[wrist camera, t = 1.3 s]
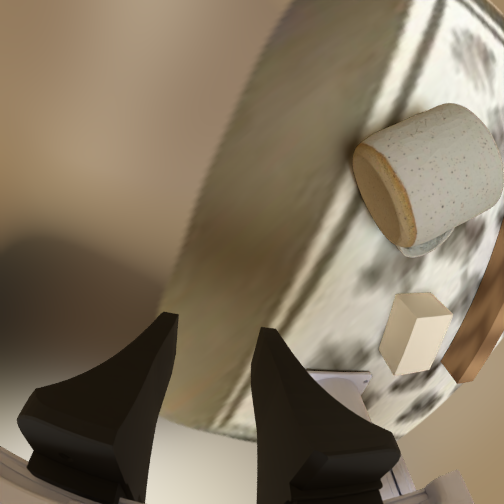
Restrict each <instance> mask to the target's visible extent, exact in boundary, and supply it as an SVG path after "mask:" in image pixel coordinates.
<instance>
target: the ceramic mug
mask: <svg viewBox="0 0 504 504" xmlns="http://www.w3.org/2000/svg"><path fill="white" fill-rule="evenodd" d="M353 171H354V175H355V178H356V182H357V185H358V188H359V190H360V193H361V195H362V198H363V200H364V202H365V204H366V206H367V208H368V210H369V212H370V214H371V216H372V217H373V219H374V221H375V223H376V224H377V226H378V227H379V229H380V230H381V231H382V233H383V234H384V235H385V237H386V238H387V239H388V240H389V241H391V242H392V243H393V244H395V245H396V246H397V247H398V249H399V250H400V251H401V252H402V254H403V255H405V256H407V257H413V258H415V257H419V256H422V255H425V254H427V253H429V252H431V251H433V250H435V249H436V248H437V247H438V246H440V245H441V244H442V243H443V242H444V241H445V240H446V239H447V238H448V237H449V236H450V234H451V233H452V231H453V230H454V228H455V227H456V226H458V225H460V224H462V223H464V222H466V221H468V220H470V219H472V218H474V217H476V216H478V215H480V214H481V213H483V212H485V211H487V210H488V209H490V208H492V207H493V206H494V205H495V204H496V203H497V201H498V200H499V199H500V196H501V193H502V190H503V185H504V172H503V163H502V159H501V156H500V152H499V150H498V147H497V145H496V143H495V141H494V139H493V137H492V135H491V133H490V132H489V130H488V129H487V127H486V126H485V125H484V123H483V122H482V121H481V120H480V119H479V118H478V117H477V116H476V115H475V114H474V113H472V112H471V111H470V110H468V109H467V108H465V107H463V106H461V105H458V104H452V103H446V104H442V105H439V106H437V107H434V108H432V109H430V110H428V111H425V112H422V113H420V114H418V115H415V116H413V117H410V118H408V119H406V120H404V121H402V122H400V123H397V124H395V125H392V126H390V127H387V128H385V129H383V130H381V131H378V132H376V133H374V134H372V135H371V136H369V137H368V138H366V139H365V140H364V141H362V142H361V143H360V144H359V145H358V146H357V147H356V149H355V151H354V155H353Z"/></svg>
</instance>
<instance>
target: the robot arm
mask: <svg viewBox="0 0 504 504" xmlns="http://www.w3.org/2000/svg"><path fill="white" fill-rule="evenodd" d="M178 316H179V314H173V313H168V312H163V313H161V314H160V315H159V316H158V317H157V319H156V320H155V321H154V322H153V323H152V324H151V325H150V326H149V327H148V328H147V329H146V330H145V331H144V332H143V333H141V334H140V335H139V336H138V337H137V338H136V339H135V340H134V341H133V342H131V343H130V344H129V345H127V346H126V347H125V348H124V349H123V350H121V351H120V352H119V353H117V354H116V355H114V356H113V357H111V358H110V359H108V360H107V361H105V362H104V363H102V364H100V365H98V366H97V367H95V368H93V369H91V370H89V371H87V372H85V373H83V374H80V375H78V376H76V377H73V378H71V379H68V380H65V381H62V382H59V383H56V384H52V385H48V386H44V387H41V388H36V389H35V391H34V392H33V393H32V394H31V396H30V397H29V399H28V401H27V402H26V404H25V405H24V407H23V409H22V411H21V412H20V414H19V416H18V418H17V424H18V426H19V428H20V430H21V432H22V434H23V435H24V437H25V438H26V440H27V441H28V443H29V444H30V446H31V447H32V449H33V450H34V451H33V453H32V456H31V458H30V460H29V462H28V461H26V460H24V459H22V458H20V457H18V456H17V455H15V454H13V453H11V452H10V451H8V450H6V449H5V448H3V447H1V446H0V504H145V497H146V487H147V479H148V470H149V464H150V457H151V451H152V445H153V439H154V433H155V427H156V423H157V419H158V415H159V412H160V409H161V406H162V402H163V399H164V396H165V393H166V390H167V387H168V384H169V381H170V378H171V374H172V370H173V365H174V360H175V355H176V343H177V329H178ZM371 378H372V374H371V373H370V372H325V371H306V370H305V369H304V367H303V366H302V365H301V364H300V362H299V361H298V360H297V358H296V357H295V356H294V354H293V353H292V352H291V350H290V349H289V347H288V346H287V344H286V343H285V342H284V340H283V339H282V337H281V336H280V334H279V333H278V331H277V330H276V329H273V328H265V327H261V329H260V333H259V336H258V340H257V344H256V348H255V351H254V355H253V359H252V362H251V390H252V398H253V406H254V413H255V421H256V428H257V455H258V460H257V463H258V465H257V466H258V467H257V469H258V470H257V471H258V472H257V476H258V477H257V504H475V503H474V501H473V499H472V497H471V495H470V493H469V490H468V488H467V486H466V484H465V482H464V480H463V478H462V476H461V474H460V472H459V470H455V471H452V472H450V473H447V474H445V475H442V476H440V477H438V478H436V479H434V480H433V481H432V482H430V483H429V484H428V485H427V486H426V487H425V488H423V489H420V490H417V491H416V488H415V486H414V483H413V481H412V478H411V476H410V474H409V471H408V469H407V466H406V464H405V462H404V459H403V457H402V455H401V453H400V450H399V447H398V445H397V443H396V440H395V438H394V436H393V434H392V432H390V431H388V430H385V429H383V428H381V427H379V426H377V425H375V424H373V423H372V422H371V420H370V417H369V415H368V412H367V410H366V407H365V405H364V403H363V400H362V398H361V395H362V393H363V392H364V390H365V388H366V387H367V385H368V383H369V382H370V380H371Z"/></svg>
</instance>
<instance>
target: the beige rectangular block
mask: <svg viewBox="0 0 504 504" xmlns="http://www.w3.org/2000/svg"><path fill="white" fill-rule="evenodd" d="M452 316H453V314H452V313H451V312H450V311H449V310H448V309H447V308H446V307H445V306H444V305H443V304H442V303H441V302H440V301H439V300H438V299H437V298H436V297H435V296H434V295H433V294H432V293H408V294H396V295H395V299H394V302H393V306H392V309H391V312H390V316H389V319H388V322H387V325H386V328H385V331H384V334H383V337H382V340H381V343H380V346H379V351H380V353H381V354H382V356H383V358H384V360H385V361H386V363H387V365H388V366H389V368H390V370H391V372H392V373H393V375H394V376H398V375H404V374H409V373H415V372H420V371H425V370H429V369H430V367H431V365H432V363H433V361H434V358H435V356H436V354H437V352H438V350H439V348H440V345H441V343H442V341H443V338H444V336H445V334H446V331H447V329H448V326H449V324H450V321H451V319H452Z"/></svg>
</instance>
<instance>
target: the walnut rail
mask: <svg viewBox="0 0 504 504" xmlns="http://www.w3.org/2000/svg"><path fill="white" fill-rule="evenodd" d="M503 330H504V218H503V222H502V225H501V229H500V232H499V235H498V238H497V241H496V244H495V247H494V250H493V253H492V256H491V258H490V261H489V264H488V266H487V269H486V272H485V274H484V277H483V279H482V281H481V284H480V286H479V288H478V291H477V293H476V295H475V298H474V300H473V302H472V304H471V306H470V308H469V310H468V312H467V315H466V317H465V319H464V321H463V323H462V324H461V326H460V328H459V330H458V332H457V334H456V336H455V338H454V339H453V341H452V343H451V345H450V347H449V348H448V350H447V352H446V354H445V355H444V357H443V359H442V360H441V362H442V364H443V365H444V366H445V368H446V369H447V370H448V372H449V373H450V374H451V376H452V377H453V379H454V380H455V381H456V383H457V384H459V383H465V382H470V381H473V380H474V378H475V377H476V375H477V374H478V372H479V371H480V369H481V368H482V366H483V365H484V363H485V361H486V360H487V358H488V357H489V355H490V353H491V352H492V350H493V348H494V347H495V345H496V343H497V341H498V340H499V338H500V336H501V334H502V332H503Z"/></svg>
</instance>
